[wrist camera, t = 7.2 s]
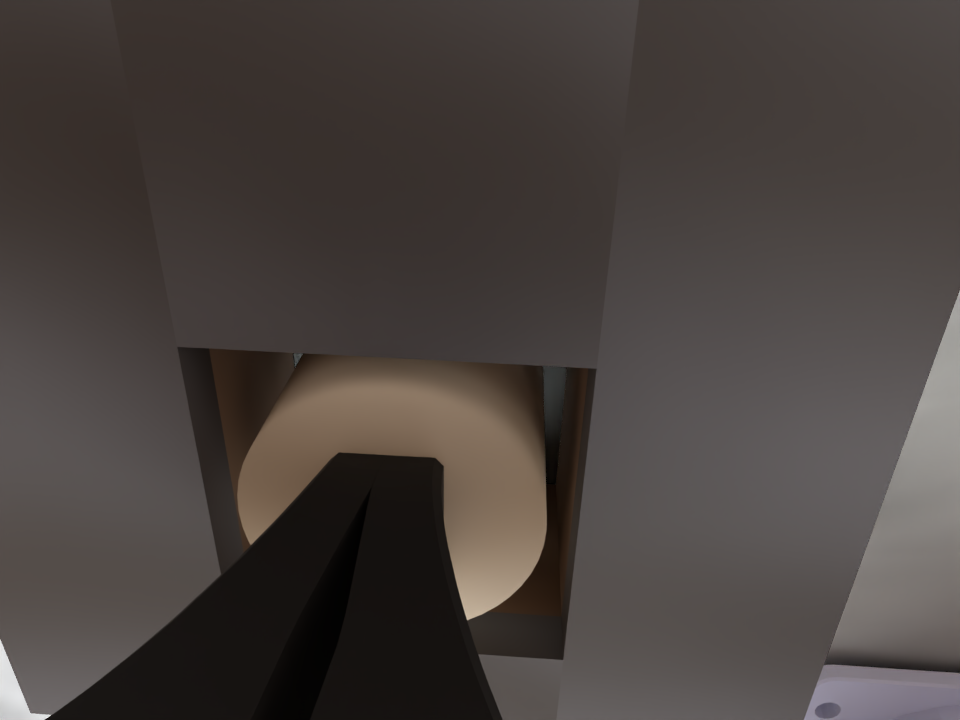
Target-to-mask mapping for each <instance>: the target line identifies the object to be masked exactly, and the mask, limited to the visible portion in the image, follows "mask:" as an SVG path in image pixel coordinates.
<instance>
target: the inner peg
mask: <svg viewBox="0 0 960 720" xmlns="http://www.w3.org/2000/svg"><path fill="white" fill-rule="evenodd" d="M339 452H342V453H359V454H377V455H394V456H413V457H432V458H436V459H437V460H438V461H439V462H440V463H441V464H442V465H443V466H444V525H445V532H446V537H447V543H448V548H449V552H450V557H451V561H452V565H453V570H454V574H455V578H456V583H457V587H458V591H459V594H460V598H461V601H462V605H463V609H464V612H465V615H466V618H467V620H469V619H472V618H474V617H477V616H479V615H482V614H484V613H485V612H487V611H489V610H491V609H493V608H495V607H496V606H498V605H499V604H501V603H502V602H503V601H505V600H506V599H508V598H509V597H510V596H511V595H512V594H513V593H515V592H516V591H517V590H518V589H519V588H520V587H521V586H522V585H523V583H524V582H525V581H526V579H527V578H528V577H529V576H530V574H531V573H532V571H533V569H534V568H535V566H536V564H537V562H538V560H539V558H540V555H541V552H542V549H543V547H544V542H545V536H546V530H547V509H546V465H545V421H544V377H543V366H536V365H517V364H497V363H478V362H459V361H440V360H421V359H401V358H382V357H363V356H344V355H325V354H306V353H303V355H302V357H301V358H300V360H299V362H298V364H297V366H296V367H295V369H294V371H293V373H292V374H291V376H290V378H289V380H288V382H287V383H286V385H285V387H284V389H283V391H282V392H281V394H280V396H279V398H278V399H277V401H276V403H275V405H274V407H273V408H272V410H271V412H270V414H269V416H268V417H267V419H266V421H265V423H264V424H263V426H262V428H261V430H260V432H259V433H258V435H257V437H256V439H255V440H254V442H253V444H252V446H251V448H250V449H249V452H248V454H247V456H246V458H245V460H244V462H243V465H242V469H241V472H240V476H239V480H238V492H237V499H238V510H239V515H240V519H241V523H242V527H243V529H244V532H245V534H246V537H247V539H248V541H249V543H250V545H252V544H253V543H254V542H255V540H256V539H257V538H258V537H259V536H260V535H261V534H262V533H263V532H264V531H265V530H266V529H267V528H268V527H269V526H270V525H271V524H272V523H273V522H274V521H275V520H276V519H277V518H278V517H279V516H280V515H281V514H282V512H283V511H284V510H285V509H286V508H287V507H288V506H289V505H290V504H291V503H292V502H293V501H294V500H295V498H296V497H297V496H298V495H299V494H300V493H301V492H302V491H303V490H304V488H305V487H306V486H307V485H308V484H309V483H310V482H311V481H312V479H313V478H314V477H315V476H316V475H317V474H318V473H319V472H320V470H321V469H322V468H323V467H324V466H325V465H326V464H327V463H328V461H329V460H330V459H331V458H332V457H334V456H335V455H336V454H337V453H339Z"/></svg>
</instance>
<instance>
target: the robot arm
mask: <svg viewBox="0 0 960 720" xmlns="http://www.w3.org/2000/svg"><path fill="white" fill-rule="evenodd" d="M45 720H503V719H502V717H501V714H500V712H499V709H498V706H497V704H496V701H495V699H494V696H493V694H492V691H491V689H490V686H489V684H488V681H487V678H486V675H485V673H484V670H483V667H482V664H481V661H480V659H479V656H478V653H477V650H476V647H475V644H474V641H473V638H472V634H471V631H470V628H469V625H468V622H467V618H466V615H465V612H464V609H463V605H462V601H461V598H460V594H459V591H458V587H457V583H456V578H455V574H454V570H453V565H452V561H451V557H450V552H449V548H448V543H447V537H446V532H445V525H444V466H443V465H442V464H441V463H440V462H439V461H438V460H437V459H436V458H432V457H413V456H394V455H377V454H359V453H342V452H339V453H337V454H336V455H335V456H334V457H332V458H331V459H330V460H329V461H328V463H327V464H326V465H325V466H324V467H323V468H322V469H321V470H320V472H319V473H318V474H317V475H316V476H315V477H314V478H313V479H312V481H311V482H310V483H309V484H308V485H307V486H306V487H305V488H304V490H303V491H302V492H301V493H300V494H299V495H298V496H297V497H296V498H295V500H294V501H293V502H292V503H291V504H290V505H289V506H288V507H287V508H286V509H285V510H284V511H283V512H282V514H281V515H280V516H279V517H278V518H277V519H276V520H275V521H274V522H273V523H272V524H271V525H270V526H269V527H268V528H267V529H266V530H265V531H264V532H263V533H262V534H261V535H260V536H259V537H258V538H257V539H256V540H255V542H254V543H253V544H252V545H251V546H250V547H249V548H248V549H247V550H246V551H245V552H244V553H243V554H242V555H241V556H240V557H239V558H238V559H237V560H236V561H235V562H234V563H233V564H232V565H231V566H230V567H229V568H228V569H227V570H226V571H225V572H223V573H222V574H221V575H220V576H219V577H218V578H217V579H216V580H215V581H214V582H213V583H212V584H210V585H209V586H208V587H207V588H206V589H205V590H204V591H203V592H202V593H201V594H200V595H199V596H197V597H196V598H195V599H194V600H193V601H192V602H191V603H190V604H189V605H188V606H187V607H186V608H184V609H183V610H182V611H181V612H180V613H179V614H178V615H177V616H176V617H175V618H173V619H172V620H171V621H170V622H169V623H168V624H167V625H165V626H164V627H163V628H162V629H161V630H160V631H158V632H157V633H156V634H155V635H154V636H153V637H151V638H150V639H149V640H148V641H147V642H145V643H144V644H143V645H142V646H141V647H139V648H138V649H137V650H136V651H135V652H133V653H132V654H131V655H130V656H128V657H127V658H126V659H125V660H123V661H122V662H121V663H120V664H118V665H117V666H116V667H115V668H113V669H112V670H111V671H110V672H108V673H107V674H106V675H104V676H103V677H102V678H101V679H99V680H98V681H97V682H96V683H94V684H93V685H92V686H90V687H89V688H88V689H87V690H85V691H84V692H83V693H81V694H80V695H78V696H77V697H76V698H74V699H73V700H72V701H70V702H69V703H67V704H66V705H65V706H63V707H62V708H61V709H59V710H58V711H56V712H55V713H54V714H52V715H51V716H50V717H48V718H47V719H45ZM804 720H960V673H951V672H936V671H922V670H907V669H892V668H877V667H862V666H848V665H833V664H832V665H824V666H823V668H822V671H821V674H820V677H819V679H818V682H817V685H816V688H815V690H814V693H813V696H812V699H811V701H810V704H809V707H808V710H807V713H806V715H805V718H804Z"/></svg>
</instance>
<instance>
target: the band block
mask: <svg viewBox="0 0 960 720" xmlns="http://www.w3.org/2000/svg"><path fill="white" fill-rule="evenodd" d="M959 290H960V0H0V639H1V641H2V644H3V646H4V649H5V651H6V654H7V656H8V659H9V661H10V664H11V666H12V668H13V671H14V673H15V676H16V678H17V681H18V683H19V686H20V688H21V691H22V693H23V695H24V698H25V700H26V703H27V705H28V708H29V710H30V713H36V714H49V715H52V714H54V713H55V712H56V711H58V710H59V709H61V708H62V707H63V706H65V705H66V704H67V703H69V702H70V701H72V700H73V699H74V698H76V697H77V696H78V695H80V694H81V693H83V692H84V691H85V690H87V689H88V688H89V687H90V686H92V685H93V684H94V683H96V682H97V681H98V680H99V679H101V678H102V677H103V676H104V675H106V674H107V673H108V672H110V671H111V670H112V669H113V668H115V667H116V666H117V665H118V664H120V663H121V662H122V661H123V660H125V659H126V658H127V657H128V656H130V655H131V654H132V653H133V652H135V651H136V650H137V649H138V648H139V647H141V646H142V645H143V644H144V643H145V642H147V641H148V640H149V639H150V638H151V637H153V636H154V635H155V634H156V633H157V632H158V631H160V630H161V629H162V628H163V627H164V626H165V625H167V624H168V623H169V622H170V621H171V620H172V619H173V618H175V617H176V616H177V615H178V614H179V613H180V612H181V611H182V610H183V609H184V608H186V607H187V606H188V605H189V604H190V603H191V602H192V601H193V600H194V599H195V598H196V597H197V596H199V595H200V594H201V593H202V592H203V591H204V590H205V589H206V588H207V587H208V586H209V585H210V584H212V583H213V582H214V581H215V580H216V579H217V578H218V577H219V576H220V575H221V574H222V573H223V572H225V571H226V570H227V569H228V568H229V567H230V566H231V565H232V564H233V563H234V562H235V561H236V560H237V559H238V558H239V557H240V556H241V555H242V554H243V553H244V552H245V551H246V550H247V549H248V548H249V547H250V546H251V545H250V543H249V541H248V539H247V537H246V534H245V532H244V529H243V527H242V523H241V519H240V515H239V510H238V499H237V492H238V480H239V476H240V472H241V469H242V465H243V462H244V460H245V458H246V456H247V454H248V452H249V449H250V448H251V446H252V444H253V442H254V440H255V439H256V437H257V435H258V433H259V432H260V430H261V428H262V426H263V424H264V423H265V421H266V419H267V417H268V416H269V414H270V412H271V410H272V408H273V407H274V405H275V403H276V401H277V399H278V398H279V396H280V394H281V392H282V391H283V389H284V387H285V385H286V383H287V382H288V380H289V378H290V376H291V374H292V373H293V371H294V360H293V353H306V354H325V355H344V356H363V357H382V358H401V359H421V360H440V361H459V362H478V363H497V364H517V365H536V366H555V367H567V372H566V382H565V393H564V404H563V415H562V425H561V436H560V447H559V458H558V469H557V479H556V485H553V484H546V509H547V530H546V536H545V542H544V547H543V549H542V552H541V555H540V558H539V560H538V562H537V564H536V566H535V568H534V569H533V571H532V573H531V574H530V576H529V577H528V578H527V579H526V581H525V582H524V583H523V585H522V586H521V587H520V588H519V589H518V590H517V591H516V592H515V593H513V594H512V595H511V596H510V597H509V598H508V599H506V600H505V601H503V602H502V603H501V604H499V605H498V606H496V607H495V608H493V609H491V610H489V611H487V612H485V613H484V614H482V615H479V616H477V617H474V618H472V619H469V620H467V622H468V625H469V628H470V631H471V634H472V638H473V641H474V644H475V647H476V650H477V653H478V656H479V659H480V661H481V664H482V667H483V670H484V673H485V675H486V678H487V681H488V684H489V686H490V689H491V691H492V694H493V696H494V699H495V701H496V704H497V706H498V709H499V712H500V714H501V717H502V719H503V720H804V718H805V715H806V713H807V710H808V707H809V704H810V701H811V699H812V696H813V693H814V690H815V688H816V685H817V682H818V679H819V677H820V674H821V671H822V668H823V666H824V663H825V660H826V657H827V655H828V652H829V649H830V646H831V644H832V641H833V638H834V635H835V632H836V630H837V627H838V624H839V621H840V619H841V616H842V613H843V610H844V608H845V605H846V602H847V599H848V597H849V594H850V591H851V588H852V586H853V583H854V580H855V577H856V575H857V572H858V569H859V566H860V563H861V561H862V558H863V555H864V552H865V550H866V547H867V544H868V541H869V539H870V536H871V533H872V530H873V528H874V525H875V522H876V519H877V517H878V514H879V511H880V508H881V506H882V503H883V500H884V497H885V494H886V492H887V489H888V486H889V483H890V481H891V478H892V475H893V472H894V470H895V467H896V464H897V461H898V459H899V456H900V453H901V450H902V448H903V445H904V442H905V439H906V437H907V434H908V431H909V428H910V425H911V423H912V420H913V417H914V414H915V412H916V409H917V406H918V403H919V401H920V398H921V395H922V392H923V390H924V387H925V384H926V381H927V379H928V376H929V373H930V370H931V368H932V365H933V362H934V359H935V356H936V354H937V351H938V348H939V345H940V343H941V340H942V337H943V334H944V332H945V329H946V326H947V323H948V321H949V318H950V315H951V312H952V310H953V307H954V304H955V301H956V299H957V296H958V293H959Z"/></svg>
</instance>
